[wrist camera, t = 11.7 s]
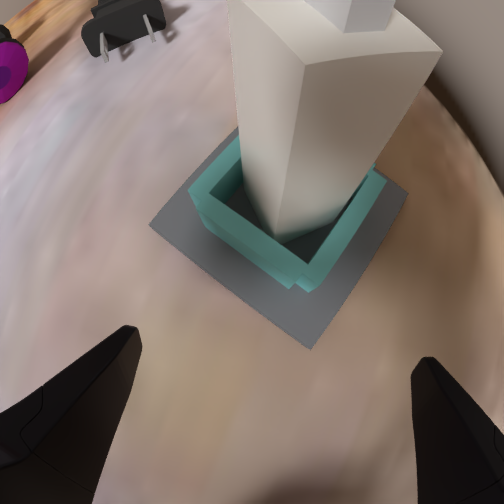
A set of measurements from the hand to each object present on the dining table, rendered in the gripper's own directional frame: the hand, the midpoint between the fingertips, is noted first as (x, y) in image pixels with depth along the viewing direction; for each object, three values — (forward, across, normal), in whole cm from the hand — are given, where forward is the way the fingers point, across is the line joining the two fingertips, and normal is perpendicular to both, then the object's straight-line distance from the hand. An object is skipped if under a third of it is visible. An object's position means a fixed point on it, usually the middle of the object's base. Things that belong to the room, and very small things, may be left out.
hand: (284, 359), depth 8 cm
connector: (+11, 0, 0) cm, 11 cm away
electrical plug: (+35, +26, -22) cm, 48 cm away
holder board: (+12, 0, 0) cm, 12 cm away
